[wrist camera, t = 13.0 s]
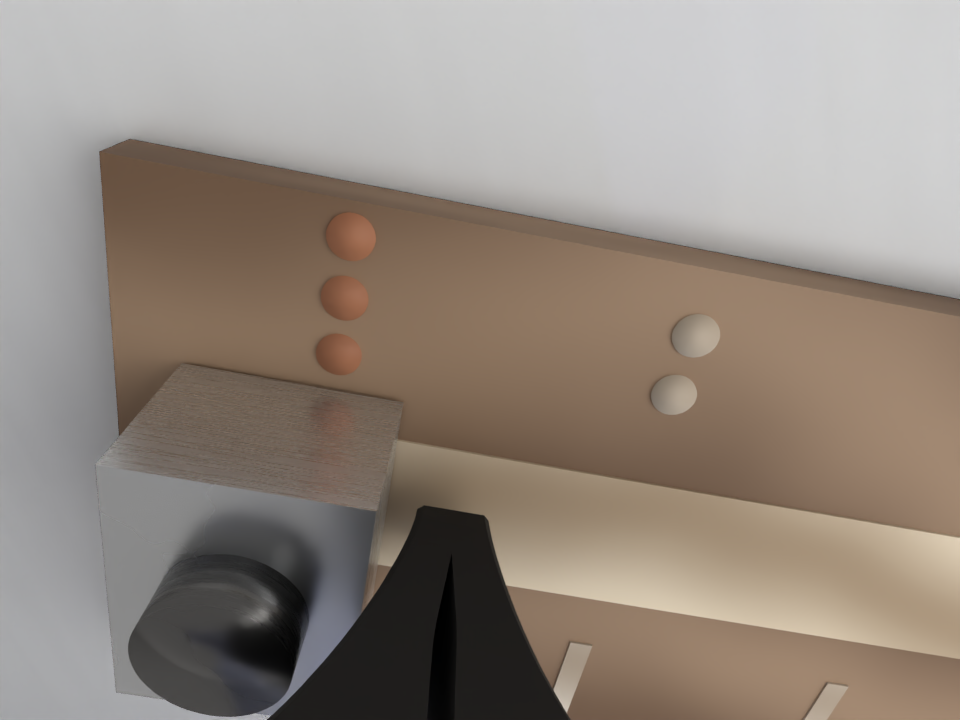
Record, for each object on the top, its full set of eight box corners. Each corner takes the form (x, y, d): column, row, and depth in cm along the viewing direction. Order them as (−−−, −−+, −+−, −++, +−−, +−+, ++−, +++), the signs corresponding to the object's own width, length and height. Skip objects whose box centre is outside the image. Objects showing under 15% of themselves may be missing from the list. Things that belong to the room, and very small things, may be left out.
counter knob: (372, 596, 15) (331, 782, 12) (185, 566, 15) (85, 746, 11) (403, 402, 13) (363, 561, 9) (181, 363, 13) (54, 511, 9)
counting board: (1129, 779, 19) (1161, 820, 18) (153, 628, 17) (133, 665, 17) (1521, 408, 13) (1597, 440, 12) (130, 138, 12) (97, 152, 11)
